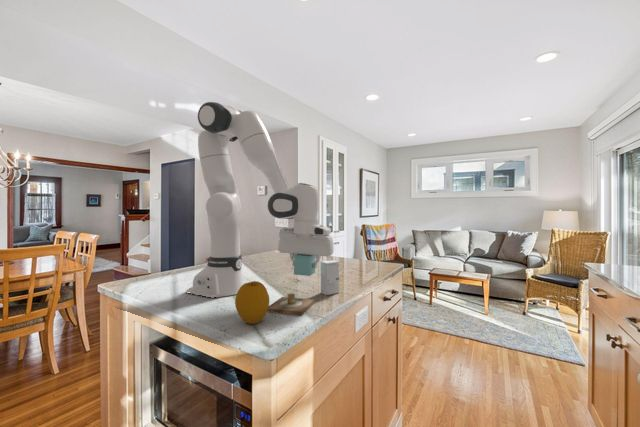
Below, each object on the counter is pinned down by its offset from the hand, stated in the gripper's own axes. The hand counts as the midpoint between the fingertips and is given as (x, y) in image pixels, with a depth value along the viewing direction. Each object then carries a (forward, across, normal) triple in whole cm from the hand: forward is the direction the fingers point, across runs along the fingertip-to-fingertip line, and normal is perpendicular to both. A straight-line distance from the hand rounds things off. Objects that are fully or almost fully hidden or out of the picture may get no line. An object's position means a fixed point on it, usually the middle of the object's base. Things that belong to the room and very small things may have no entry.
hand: (304, 266), depth 104 cm
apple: (+12, -7, -24) cm, 28 cm away
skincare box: (+11, +7, +9) cm, 16 cm away
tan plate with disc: (+12, -1, -10) cm, 15 cm away
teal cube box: (+2, 0, 0) cm, 2 cm away
